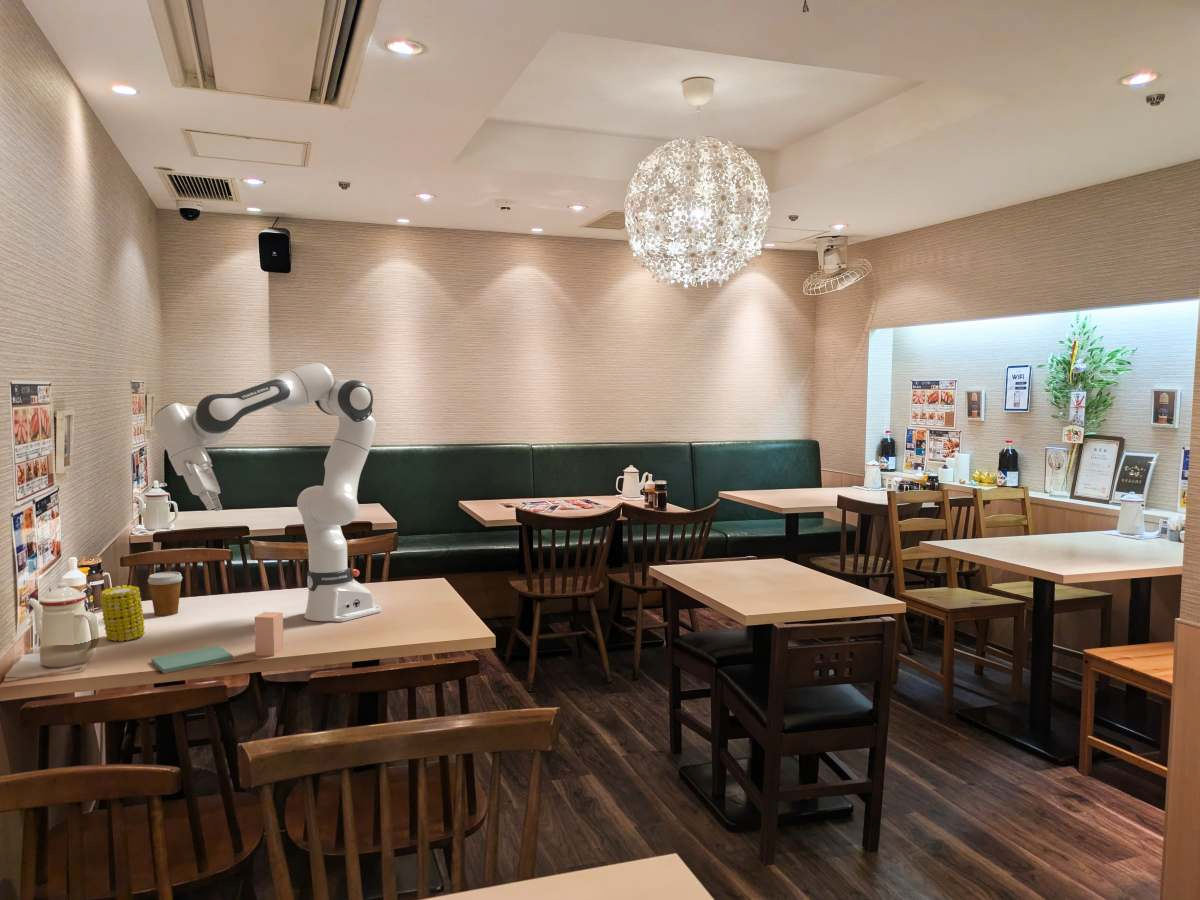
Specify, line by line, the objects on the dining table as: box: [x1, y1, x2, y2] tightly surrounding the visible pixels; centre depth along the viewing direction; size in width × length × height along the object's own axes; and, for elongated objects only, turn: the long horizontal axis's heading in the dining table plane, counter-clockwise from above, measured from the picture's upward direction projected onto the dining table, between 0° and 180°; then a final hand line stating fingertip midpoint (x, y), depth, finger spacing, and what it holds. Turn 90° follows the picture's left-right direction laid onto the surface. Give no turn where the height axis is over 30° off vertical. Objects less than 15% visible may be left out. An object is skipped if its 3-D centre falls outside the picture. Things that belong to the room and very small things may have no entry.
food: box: [99, 584, 146, 643], centre depth 228 cm, size 15×12×10 cm
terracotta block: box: [254, 611, 284, 657], centre depth 216 cm, size 5×5×10 cm
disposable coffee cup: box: [146, 571, 184, 617], centre depth 254 cm, size 10×10×12 cm
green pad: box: [150, 645, 234, 674], centre depth 209 cm, size 16×11×1 cm
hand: (215, 509), depth 220 cm, fingers open, 8 cm apart
